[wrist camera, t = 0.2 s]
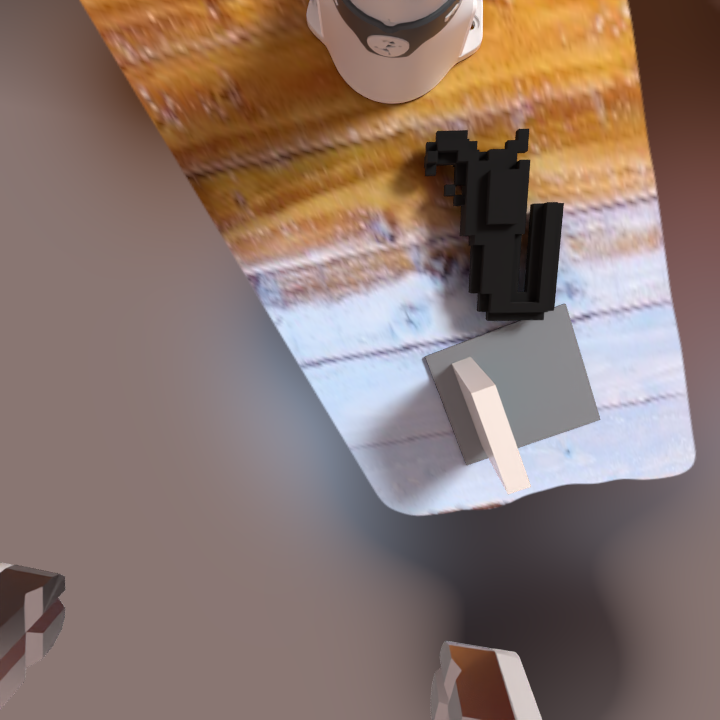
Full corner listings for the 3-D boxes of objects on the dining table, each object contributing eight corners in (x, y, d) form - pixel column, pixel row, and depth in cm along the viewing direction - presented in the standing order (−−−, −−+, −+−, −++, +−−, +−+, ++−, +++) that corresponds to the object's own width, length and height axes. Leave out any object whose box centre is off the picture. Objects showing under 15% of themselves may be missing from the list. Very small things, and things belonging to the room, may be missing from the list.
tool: (425, 324, 50) (560, 323, 49) (429, 125, 45) (579, 121, 44) (420, 317, 55) (542, 316, 54) (423, 138, 50) (558, 135, 49)
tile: (481, 445, 58) (508, 494, 46) (451, 363, 56) (471, 393, 44) (500, 439, 58) (531, 486, 46) (470, 356, 55) (495, 384, 44)
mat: (466, 464, 59) (466, 465, 59) (424, 356, 56) (425, 357, 55) (598, 418, 57) (600, 419, 57) (564, 303, 54) (565, 303, 53)
